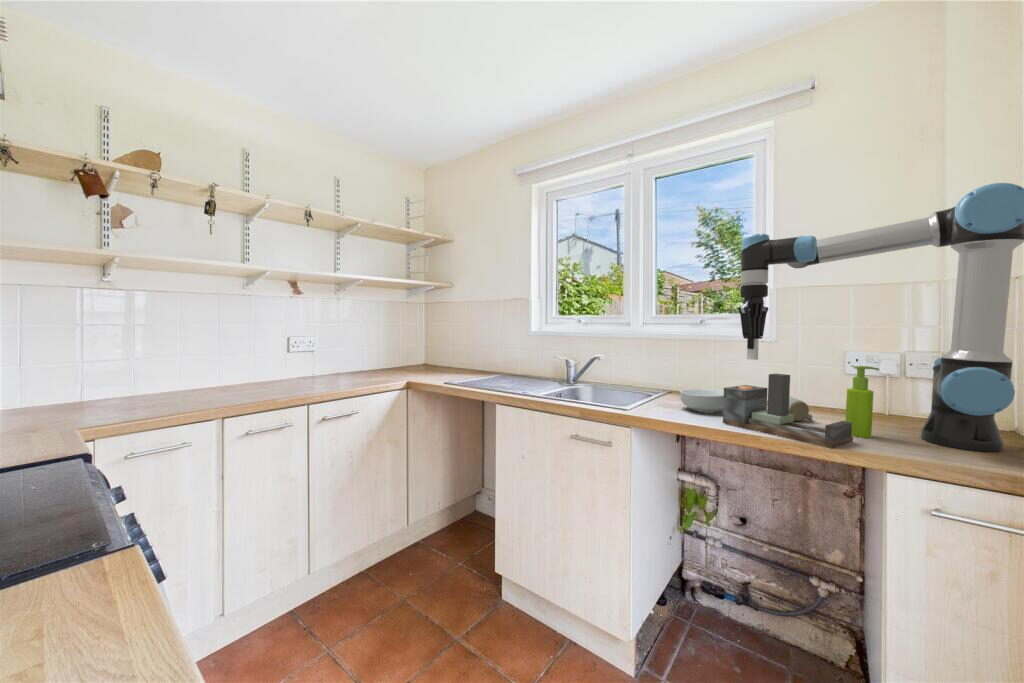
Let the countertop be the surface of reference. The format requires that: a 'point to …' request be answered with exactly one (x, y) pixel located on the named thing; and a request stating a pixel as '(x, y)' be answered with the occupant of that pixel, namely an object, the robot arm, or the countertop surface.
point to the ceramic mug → (798, 409)
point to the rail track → (747, 401)
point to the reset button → (745, 387)
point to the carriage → (776, 401)
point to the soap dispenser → (860, 404)
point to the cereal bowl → (703, 399)
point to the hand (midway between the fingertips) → (752, 359)
